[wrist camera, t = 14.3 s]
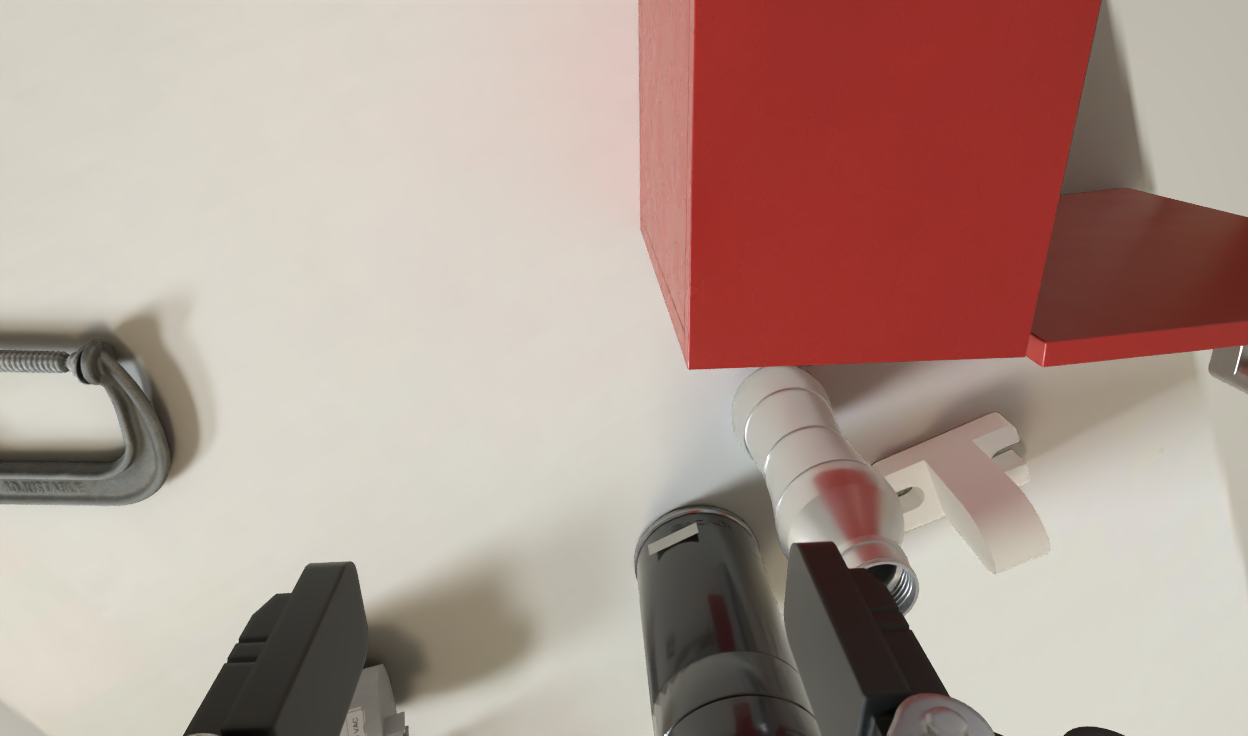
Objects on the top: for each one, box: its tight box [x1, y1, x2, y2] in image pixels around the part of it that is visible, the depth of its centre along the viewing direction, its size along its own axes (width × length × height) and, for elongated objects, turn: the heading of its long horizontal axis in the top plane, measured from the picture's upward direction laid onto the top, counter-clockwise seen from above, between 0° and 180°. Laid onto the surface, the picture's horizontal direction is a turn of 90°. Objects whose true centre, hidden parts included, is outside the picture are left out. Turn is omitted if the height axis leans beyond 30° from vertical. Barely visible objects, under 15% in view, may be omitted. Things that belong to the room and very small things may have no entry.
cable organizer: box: [872, 412, 1050, 574], centre depth 49 cm, size 5×10×10 cm, turn 116°
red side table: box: [1026, 188, 1248, 394], centre depth 37 cm, size 7×18×22 cm, turn 95°
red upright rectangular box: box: [639, 0, 1102, 370], centre depth 32 cm, size 12×18×22 cm, turn 1°
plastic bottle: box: [732, 366, 919, 616], centre depth 41 cm, size 6×7×20 cm
